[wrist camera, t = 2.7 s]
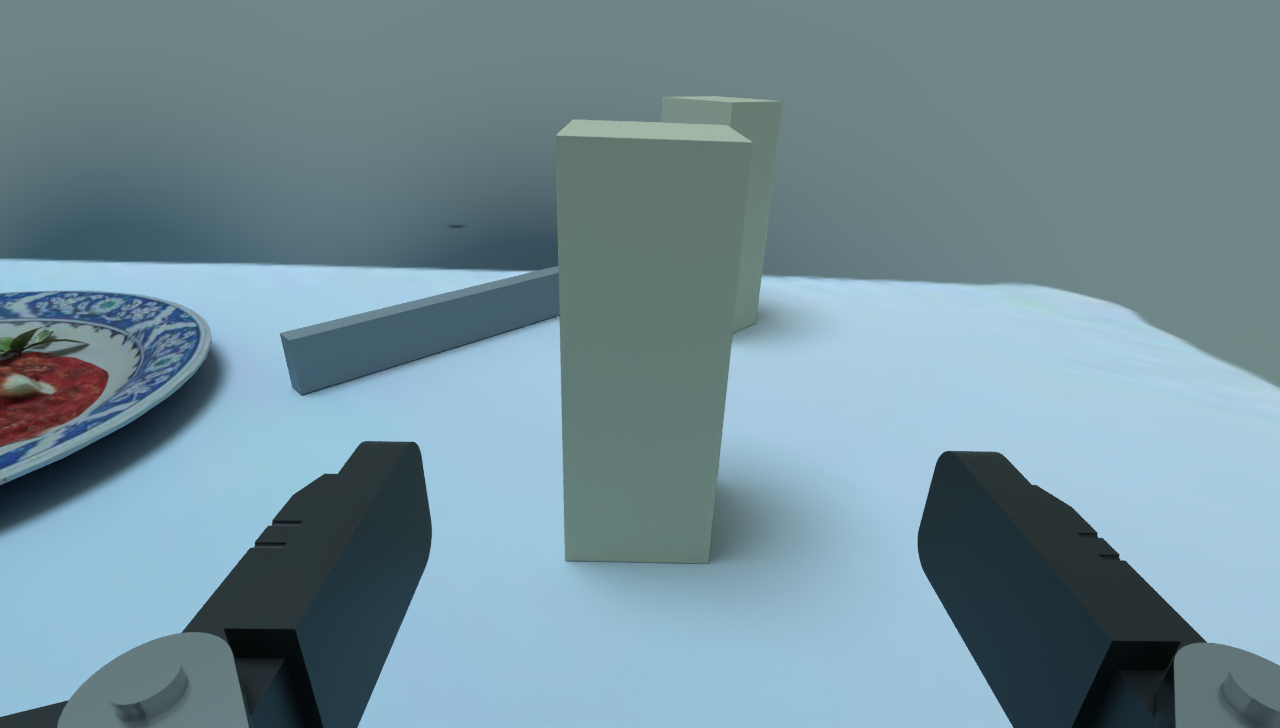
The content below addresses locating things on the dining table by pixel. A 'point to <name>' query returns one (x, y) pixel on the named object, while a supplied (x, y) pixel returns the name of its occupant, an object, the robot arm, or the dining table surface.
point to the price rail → (416, 329)
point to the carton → (646, 331)
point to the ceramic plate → (86, 368)
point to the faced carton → (763, 130)
